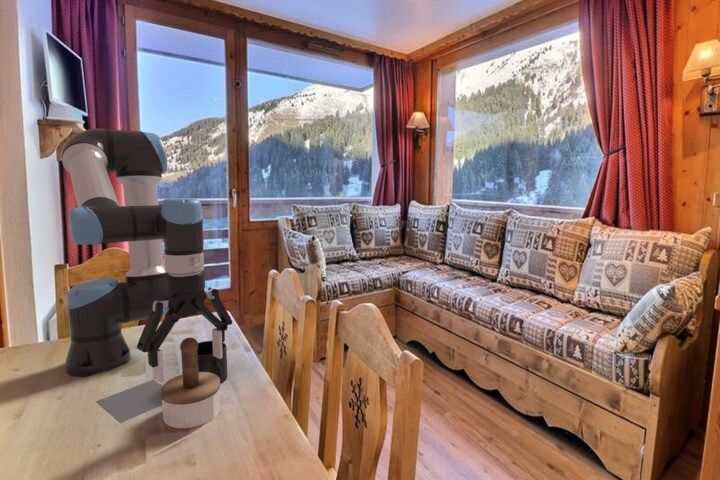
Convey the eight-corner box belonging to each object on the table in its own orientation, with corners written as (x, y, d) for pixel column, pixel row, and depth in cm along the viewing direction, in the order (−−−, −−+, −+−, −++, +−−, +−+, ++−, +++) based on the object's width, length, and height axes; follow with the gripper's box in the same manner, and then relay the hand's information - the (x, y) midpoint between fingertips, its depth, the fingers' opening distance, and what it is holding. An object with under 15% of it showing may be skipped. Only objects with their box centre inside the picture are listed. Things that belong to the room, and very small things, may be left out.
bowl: (153, 416, 88) (151, 391, 87) (201, 394, 97) (200, 371, 96) (181, 437, 81) (180, 410, 80) (230, 412, 90) (229, 387, 89)
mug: (202, 399, 95) (200, 363, 93) (182, 380, 103) (180, 347, 102) (239, 385, 101) (237, 351, 100) (217, 368, 110) (216, 337, 108)
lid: (150, 391, 87) (146, 339, 85) (201, 370, 96) (198, 323, 94) (179, 411, 79) (176, 355, 78) (231, 387, 89) (229, 336, 87)
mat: (96, 403, 92) (95, 401, 92) (153, 381, 102) (153, 379, 102) (120, 425, 84) (120, 422, 84) (180, 399, 95) (179, 396, 94)
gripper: (130, 287, 72) (138, 397, 75) (246, 265, 91) (248, 353, 95) (112, 280, 76) (120, 384, 79) (226, 260, 96) (229, 344, 99)
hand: (190, 367), depth 87 cm, fingers open, 13 cm apart
